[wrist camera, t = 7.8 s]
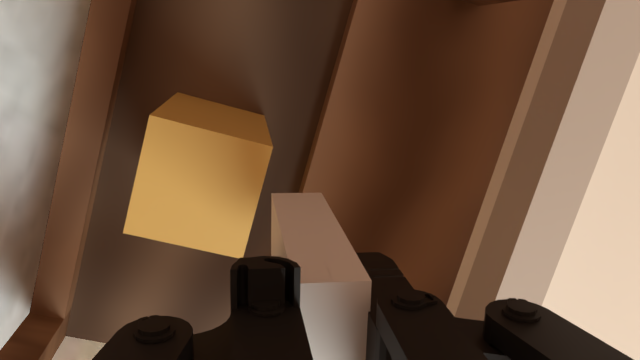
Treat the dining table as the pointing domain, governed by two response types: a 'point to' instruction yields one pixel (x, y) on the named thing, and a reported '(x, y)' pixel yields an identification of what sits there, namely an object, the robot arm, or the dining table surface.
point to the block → (199, 175)
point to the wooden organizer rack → (279, 141)
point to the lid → (568, 182)
